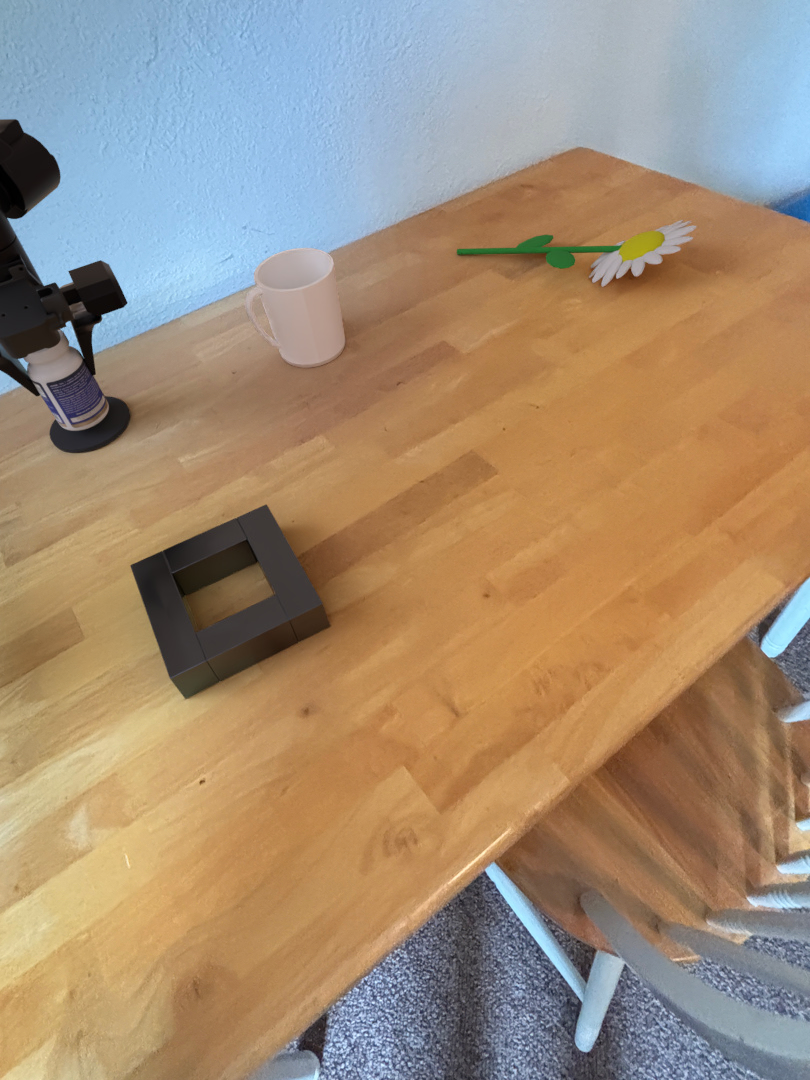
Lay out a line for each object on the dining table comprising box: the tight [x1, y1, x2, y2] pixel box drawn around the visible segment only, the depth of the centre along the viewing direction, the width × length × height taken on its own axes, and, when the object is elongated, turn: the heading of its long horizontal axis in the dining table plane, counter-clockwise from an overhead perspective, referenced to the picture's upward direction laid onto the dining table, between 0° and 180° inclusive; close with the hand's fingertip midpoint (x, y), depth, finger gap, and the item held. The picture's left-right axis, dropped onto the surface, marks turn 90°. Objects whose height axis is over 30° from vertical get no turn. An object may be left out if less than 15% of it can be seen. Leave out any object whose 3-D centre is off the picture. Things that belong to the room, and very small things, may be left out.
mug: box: [244, 247, 347, 369], centre depth 81 cm, size 11×9×10 cm
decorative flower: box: [456, 219, 698, 288], centre depth 89 cm, size 13×5×30 cm
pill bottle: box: [23, 329, 109, 431], centre depth 75 cm, size 6×6×10 cm
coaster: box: [49, 395, 132, 454], centre depth 80 cm, size 9×9×1 cm
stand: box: [129, 504, 332, 700], centre depth 61 cm, size 13×13×4 cm
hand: (65, 383), depth 76 cm, fingers closed on pill bottle, 6 cm apart
